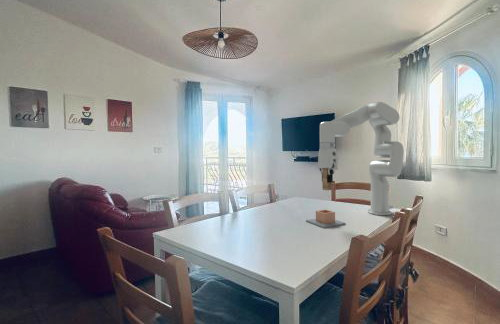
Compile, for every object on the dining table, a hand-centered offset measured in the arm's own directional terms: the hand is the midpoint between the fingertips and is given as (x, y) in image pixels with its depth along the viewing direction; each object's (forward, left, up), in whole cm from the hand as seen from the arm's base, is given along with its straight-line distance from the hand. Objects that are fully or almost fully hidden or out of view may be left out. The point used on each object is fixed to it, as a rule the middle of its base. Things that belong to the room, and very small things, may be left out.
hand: (327, 181), depth 135 cm
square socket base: (+1, -1, -22) cm, 22 cm away
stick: (0, 0, -4) cm, 4 cm away
